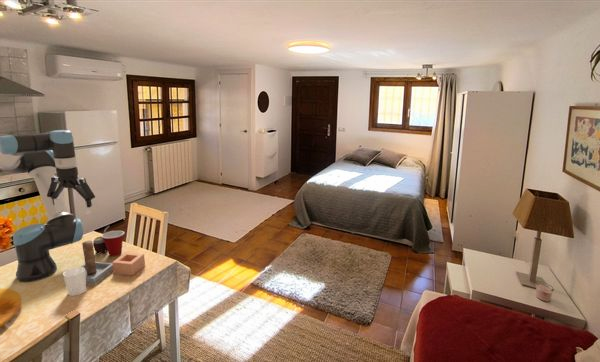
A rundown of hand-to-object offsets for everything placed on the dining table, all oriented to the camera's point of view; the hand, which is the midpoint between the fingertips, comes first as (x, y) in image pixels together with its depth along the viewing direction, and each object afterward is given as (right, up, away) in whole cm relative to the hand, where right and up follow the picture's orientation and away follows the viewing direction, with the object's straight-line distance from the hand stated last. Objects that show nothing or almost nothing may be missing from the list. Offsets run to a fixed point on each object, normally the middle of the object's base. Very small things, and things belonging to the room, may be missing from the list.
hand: (73, 212), depth 144 cm
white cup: (+3, -35, -2) cm, 35 cm away
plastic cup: (+1, -25, +31) cm, 40 cm away
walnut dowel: (+2, -30, +10) cm, 32 cm away
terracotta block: (+16, -30, +16) cm, 38 cm away
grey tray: (+1, -31, +10) cm, 33 cm away
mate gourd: (-7, -25, +33) cm, 41 cm away
